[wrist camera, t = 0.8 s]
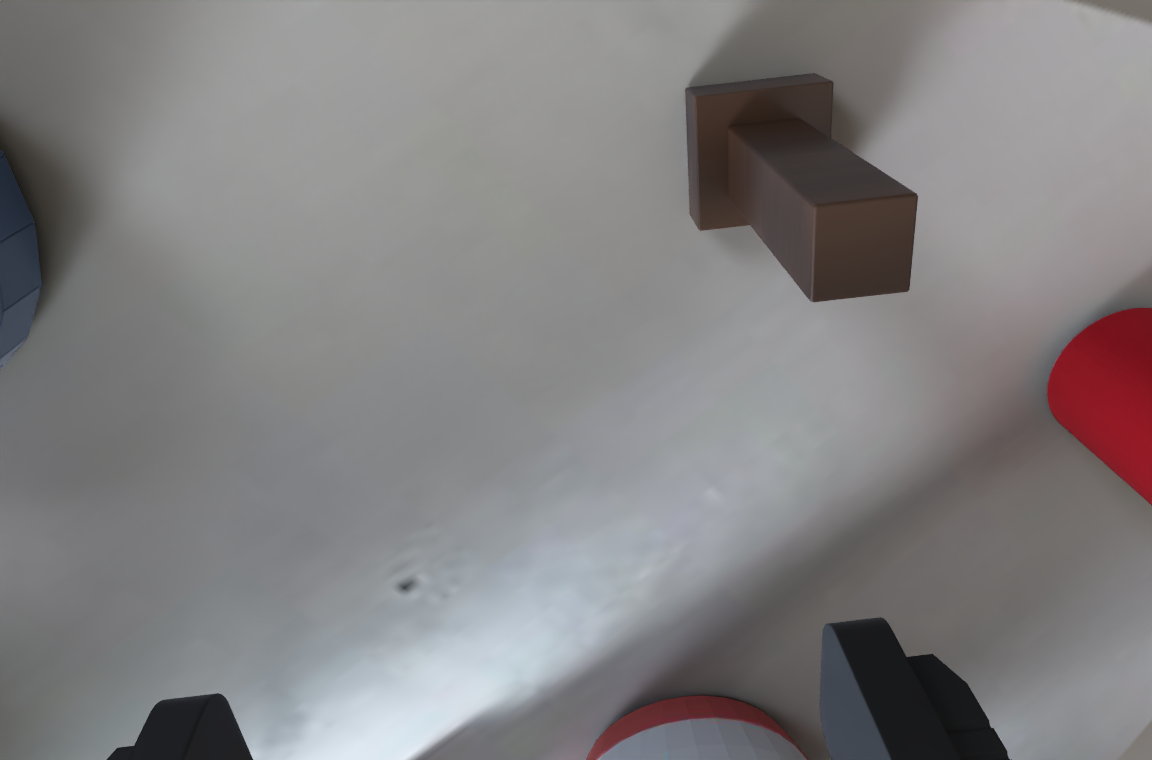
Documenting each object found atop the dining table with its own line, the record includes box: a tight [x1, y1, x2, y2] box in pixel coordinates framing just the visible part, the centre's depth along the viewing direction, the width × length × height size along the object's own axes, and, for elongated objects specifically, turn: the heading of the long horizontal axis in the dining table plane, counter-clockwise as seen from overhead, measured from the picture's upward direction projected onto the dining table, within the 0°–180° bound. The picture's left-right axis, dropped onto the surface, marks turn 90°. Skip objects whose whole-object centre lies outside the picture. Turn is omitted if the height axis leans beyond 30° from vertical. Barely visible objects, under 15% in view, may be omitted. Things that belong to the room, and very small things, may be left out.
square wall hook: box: [685, 73, 918, 302], centre depth 26 cm, size 5×5×12 cm
